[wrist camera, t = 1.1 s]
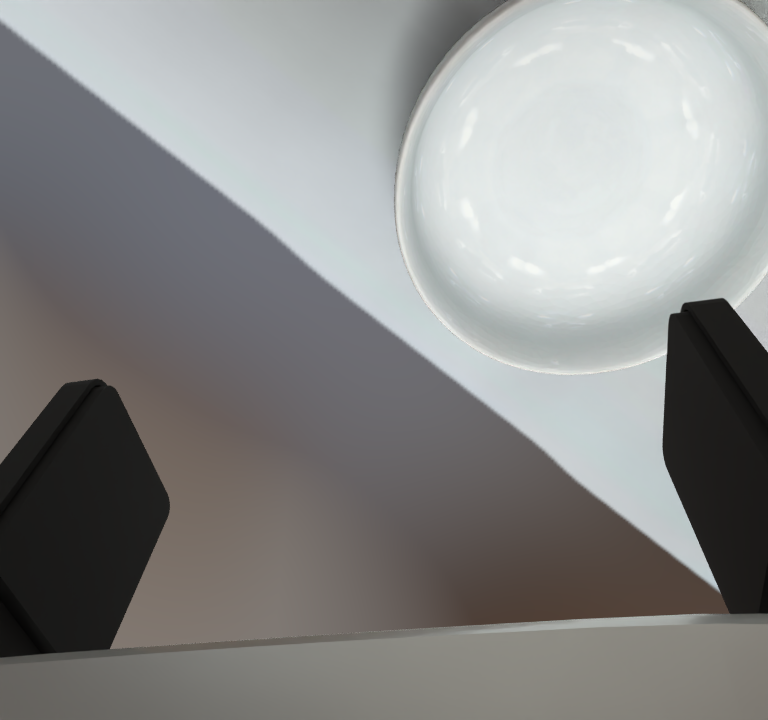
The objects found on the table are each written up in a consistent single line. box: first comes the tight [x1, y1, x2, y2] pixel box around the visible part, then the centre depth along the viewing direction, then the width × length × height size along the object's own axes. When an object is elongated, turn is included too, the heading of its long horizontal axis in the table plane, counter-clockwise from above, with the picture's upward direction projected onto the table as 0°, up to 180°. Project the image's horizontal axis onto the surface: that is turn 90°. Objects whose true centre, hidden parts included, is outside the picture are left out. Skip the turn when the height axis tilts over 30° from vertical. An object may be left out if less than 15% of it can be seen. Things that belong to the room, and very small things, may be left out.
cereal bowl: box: [394, 0, 768, 375], centre depth 30 cm, size 17×17×7 cm
